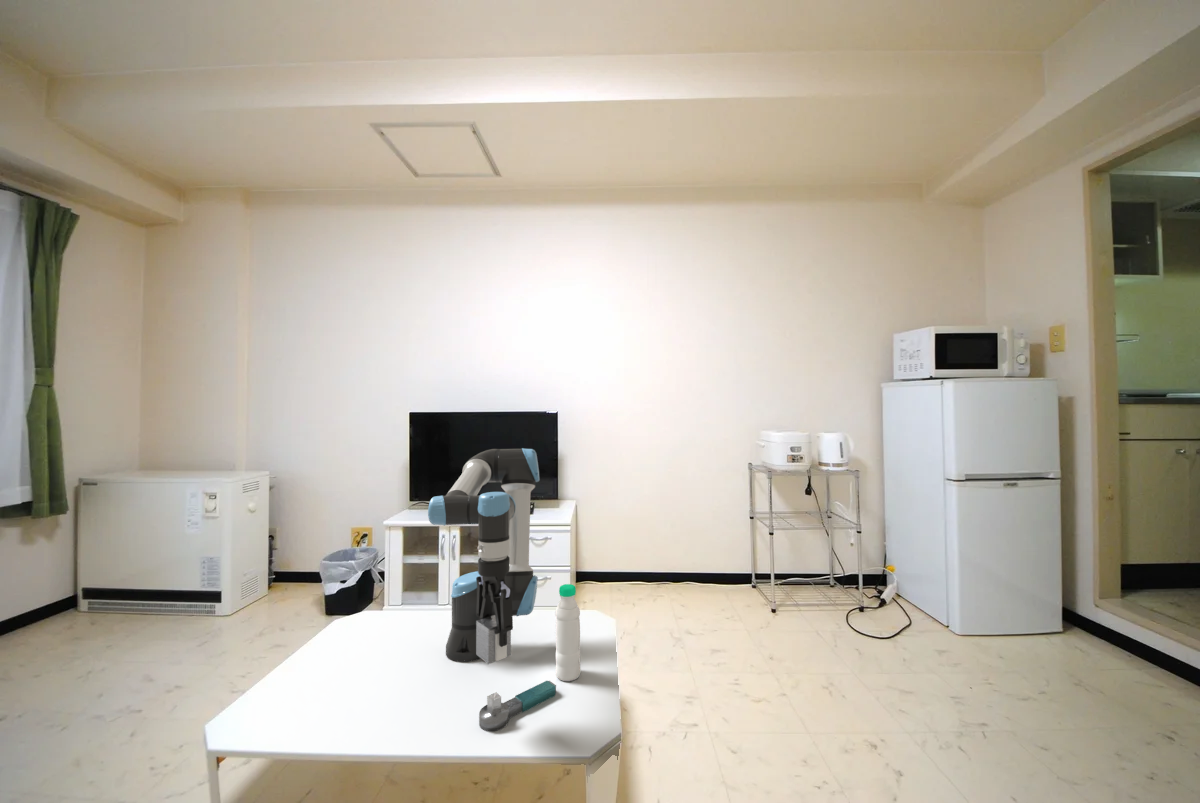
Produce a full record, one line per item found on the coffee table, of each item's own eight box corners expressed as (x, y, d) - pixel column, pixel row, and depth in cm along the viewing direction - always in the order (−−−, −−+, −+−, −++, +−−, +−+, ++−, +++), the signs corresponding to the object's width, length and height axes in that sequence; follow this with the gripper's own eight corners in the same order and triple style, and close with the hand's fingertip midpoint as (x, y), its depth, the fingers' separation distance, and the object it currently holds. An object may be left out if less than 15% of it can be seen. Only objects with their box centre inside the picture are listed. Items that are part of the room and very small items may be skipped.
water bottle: (577, 683, 125) (576, 591, 126) (552, 681, 126) (551, 589, 128) (583, 669, 132) (582, 582, 133) (559, 667, 133) (559, 581, 134)
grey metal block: (476, 654, 110) (476, 620, 111) (498, 646, 114) (498, 613, 115) (488, 664, 106) (488, 628, 106) (510, 655, 110) (510, 621, 110)
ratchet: (488, 736, 105) (488, 709, 105) (473, 721, 110) (474, 696, 110) (560, 697, 119) (560, 674, 119) (544, 686, 124) (544, 664, 124)
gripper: (462, 551, 116) (461, 644, 115) (500, 569, 102) (500, 675, 101) (488, 546, 121) (488, 635, 120) (528, 561, 107) (528, 662, 106)
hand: (493, 653), depth 110 cm, fingers closed on grey metal block, 6 cm apart
